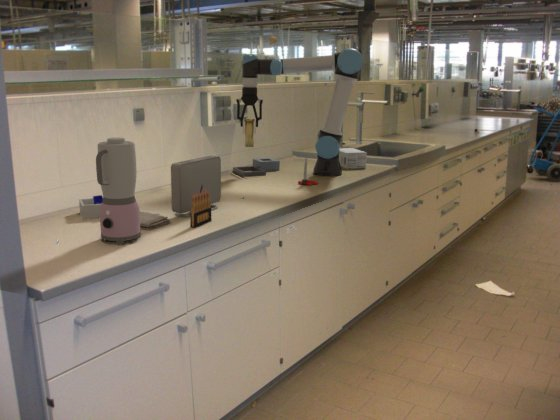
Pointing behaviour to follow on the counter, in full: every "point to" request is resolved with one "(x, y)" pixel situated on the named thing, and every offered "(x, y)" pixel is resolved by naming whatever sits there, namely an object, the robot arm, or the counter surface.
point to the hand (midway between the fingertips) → (249, 133)
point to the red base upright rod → (304, 181)
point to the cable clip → (98, 199)
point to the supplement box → (352, 158)
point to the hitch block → (267, 164)
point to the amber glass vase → (249, 132)
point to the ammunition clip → (200, 209)
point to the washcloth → (152, 221)
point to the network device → (195, 182)
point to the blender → (118, 190)
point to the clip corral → (89, 208)
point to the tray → (241, 170)
